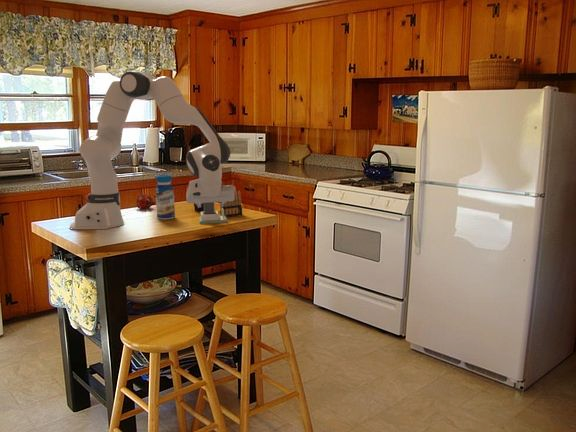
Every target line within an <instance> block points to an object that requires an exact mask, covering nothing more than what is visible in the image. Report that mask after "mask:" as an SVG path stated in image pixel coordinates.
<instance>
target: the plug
mask: <svg viewBox="0 0 576 432" xmlns="http://www.w3.org/2000/svg"><path fill="white" fill-rule="evenodd" d="M214 211H215V202H208V203H204V211H203V212H204V215H206V214H215V213H214Z"/></svg>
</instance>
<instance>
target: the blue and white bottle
mask: <svg viewBox="0 0 576 432" xmlns="http://www.w3.org/2000/svg"><path fill="white" fill-rule="evenodd" d="M155 178H156V183H157V184H156V187H155V190H154V191H155V197H154V198H155V205H156V218H157V219H158V220H160V221H161V220H163V221H165V220H172V219H174V218H176V210H175V208H176V207H175V194H174V190H175V189H174V187H173V185H172V184H171V183H172V175H171V174H164V173H163V174H157V175H156V177H155Z"/></svg>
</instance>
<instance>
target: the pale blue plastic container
mask: <svg viewBox="0 0 576 432" xmlns="http://www.w3.org/2000/svg"><path fill="white" fill-rule="evenodd" d="M214 213H215V214H206V215H204V211H200V216H199V217H198V218H199V224H200V225H204V224H205V225H207V224H224V223H227V224H228V217H226V216H224V209H223V208H222V216H220V215H219V212H218V210H214Z"/></svg>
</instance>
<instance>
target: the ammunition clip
mask: <svg viewBox="0 0 576 432" xmlns="http://www.w3.org/2000/svg"><path fill="white" fill-rule="evenodd" d="M234 197H235V199H234V200H233V201H227V202H226V203H225V204H223V206H219V207H220V212H219V213H220V215H219V216H222V208H223V209H224V216H226V218H232V217H240V216H243V206H242V197H241V191H240V190H238V191H237V190H235V192H234ZM239 215H240V216H239Z"/></svg>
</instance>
